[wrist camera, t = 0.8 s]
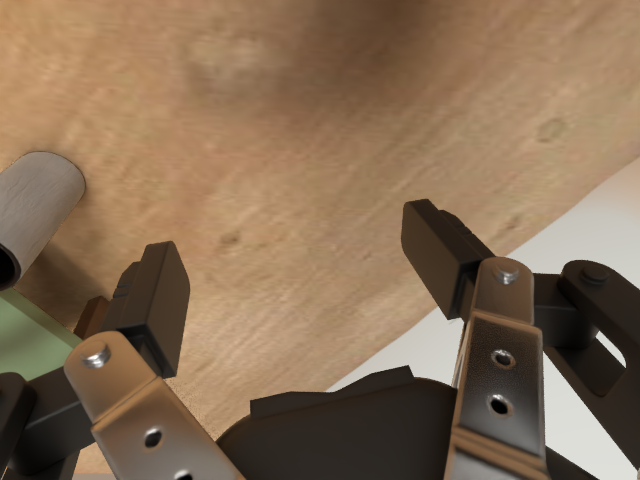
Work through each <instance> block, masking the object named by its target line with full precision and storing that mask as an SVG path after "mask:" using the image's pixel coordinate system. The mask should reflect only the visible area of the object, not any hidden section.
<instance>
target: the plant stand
mask: <svg viewBox="0 0 640 480" xmlns="http://www.w3.org/2000/svg"><path fill="white" fill-rule="evenodd" d="M108 306H109V302H108V301H107V300H106V299H105V298H104V297H103V296H99V297H97V298H94V299H92V300H89V301H88V303H87V305H86V307H85V309H84V311H83V313H82V315H81V317H80V319H79V321H78V323H77V326H76V328H75V330H74V332H73V333H72V332H71V331H70V330H68V329H67V328H66V327H64V326H63V325H62V324H60V323H59V322H58V321H56V320H55V319H54V318H52V317H51V316H50V315H48V314H47V313H45V312H44V311H43V310H41V309H40V308H39V307H37V306H36V305H35V304H33V303H32V302H31V301H29V300H28V299H27V298H25V297H24V296H23V295H21V294H20V293H19V292H17V291H16V290H15V289H13V288H12V287H11V288H9V289H7V290H4V291H0V373H5V372H16V373H19V374H20V375H21V376H22V377H23V378H24V379H25V380H27V381H30V380H32V379H34V378H36V377H39V376H41V375H43V374H46V373H48V372H50V371H53V370H55V369H57V368H59V367H62V366H64V363H65V361H66V358H67V357H68V355H69V354H70V353H71V351H72V350H73V349H74V348H75V347H76V346H77V345H78V344H80V343H81V342H82V341H84V340H85V339H87V338H89V337H91V336H93V335H95V334H97V331H98V329H99V327H100V324H101V322H102V320H103V317H104V315H105V313H106V310H107V308H108Z"/></svg>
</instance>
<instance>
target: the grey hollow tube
mask: <svg viewBox="0 0 640 480" xmlns="http://www.w3.org/2000/svg"><path fill="white" fill-rule="evenodd" d="M84 191H85V182H84V178H83V176H82V174H81V173H80V171H79V170H78V169H77V168H76V167H75V166H74V165H73V164H72V163H71V162H69V161H68V160H66V159H65V158H63V157H61V156H59V155H56V154H53V153H48V152H31V153H28V154H26V155H24V156H22V157H21V158H19V159H18V160H16V161H15V162H14V163H13V164H11V165H10V166H9V167H7V168H6V169H5V170H4V171H2V172H1V173H0V291H4V290H7V289H9V288H11V287H13V286H14V285H15V284H17V283H18V281H19V280H20V279H21V278H22V276H23V275H24V274H25V272H26V271H27V270H28V268H29V267H30V266H31V264H32V263H33V262H34V260H35V259H36V258H37V256H38V255H39V254H40V252H41V251H42V250H43V248H44V247H45V246H46V244H47V243H48V242H49V240H50V239H51V238H52V236H53V235H54V233H55V232H56V231H57V229H58V228H59V227H60V225H61V224H62V223H63V221H64V220H65V219H66V217H67V216H68V215H69V213H70V212H71V211H72V209H73V208H74V207H75V205H76V204H77V203H78V201H79V200H80V199H81V197H82V195H83V193H84Z"/></svg>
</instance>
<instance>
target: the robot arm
mask: <svg viewBox="0 0 640 480" xmlns="http://www.w3.org/2000/svg"><path fill="white" fill-rule="evenodd" d="M401 244H402V248H403V251H404V254H405V255H406V257H407V258H408V260H409V261H410V263H411V264H412V266H413V268H414V269H415V271H416V272H417V274H418V275H419V277H420V278H421V280H422V281H423V283H424V284H425V286H426V288H427V289H428V291H429V292H430V294H431V295H432V297H433V298H434V300H435V301H436V303H437V304H438V306H439V308H440V309H441V311H442V312H443V314H444V315H445V317H446V318H447V320H451V319H455V318H460V317H461V318H462V320H463V321H464V326H463V329H462V335H461V340H460V345H459V350H458V355H457V360H456V365H455V370H454V375H453V380H452V384H451V386H449V385H447V384H445V383H442V382H439V381H435V380H432V379H427V378H421V377H414V376H413V374H412V372H411V369H410V367H409V365H407V366H402V367H398V368H393V369H389V370H384V371H380V372H375V373H371V374H369V375H367V376H365V377H363V378H361V379H359V380H357V381H356V382H354V383H352V384H350V385H348V386H346V387H344V388H342V389H340V390H338V391H335V392H330V393H329V392H292V391H290V392H286V393H281V394H277V395H273V396H268V397H264V398H259V399H255V400H250V414H249V415H247V416H246V417H244V418H242V419H241V420H239V421H238V422H236V423H235V424H233V425H232V426H231V427H230V428H229V429H227V430H226V431H225V432H224V433H223V434H222V435H221V436H220V437H219V438H218V439H217V440H216V441H214V440H213V439H212V438H211V437H210V435H209V434H208V433H207V432H206V431H205V429H204V428H203V427H202V426H201V425H200V423H199V422H198V421H197V420H196V419H195V417H194V416H193V415H192V414H191V413H190V411H189V410H188V409H187V408H186V406H185V405H184V404H183V403H182V402H181V400H180V399H179V398H178V397H177V396H176V394H175V393H174V392H173V391H172V390H171V388H170V387H169V386H168V385H167V384H166V382H165V381H164V380H163V379H166V378H171V377H175V376H176V374H177V368H178V362H179V356H180V350H181V344H182V338H183V332H184V326H185V320H186V314H187V308H188V302H189V296H190V283H189V278H188V275H187V273H186V270H185V268H184V265H183V263H182V260H181V258H180V255H179V253H178V251H177V248H176V246H175V244H174V242H173V241H167V242H161V243H155V244H149V245H147V246H146V248H145V251H144V253H143V256H142V259H141V261H139V262H133V263H132V264H131V265H130V266H129V267H128V268H127V269H126V270H125V271H124V272H123V273H122V275H121V277H120V280H119V282H118V284H117V288H116V289H115V292H114V294H113V299H111V301H110V303H109V306H108V308H107V310H106V313H105V315H104V317H103V320H102V322H101V324H100V327H99V329H98V331H97V334H95V335H93V336H91V337H89V338H87V339H85V340H84V341H82V342H81V343H80V344H78V345H77V346H76V347H75V348H74V349H73V350H72V351H71V353H70V354H69V355H68V357H67V358H66V361H65V363H64V366H62V367H59V368H57V369H55V370H53V371H50V372H48V373H46V374H43V375H41V376H39V377H36V378H34V379H32V380H30V381H27V380H25V379H24V378H23V377H22V376H21V375H20V374H19V373H16V372H5V373H0V480H1V478H2V475H3V473H4V471H5V469H6V466H7V470H6V472H5V474H4V476H3V479H2V480H72V477H73V473H74V470H75V467H76V463H77V460H78V456H79V453H80V450H81V449H83V448H85V447H87V446H89V445H91V444H93V443H94V442H97V444H98V446H99V448H100V450H101V451H102V453H103V455H104V457H105V459H106V461H107V463H108V464H109V466H110V468H111V470H112V472H113V474H114V475H115V477H116V479H117V480H599V479H597V478H596V477H594V476H593V475H591V474H590V473H588V472H587V471H585V470H583V469H582V468H580V467H579V466H577V465H576V464H574V463H572V462H571V461H569V460H568V459H566V458H565V457H563V456H562V455H560V454H558V453H557V452H555V451H554V450H552V449H551V448H549V447H547V446H546V445H545V415H544V381H543V379H544V377H543V351H544V353H545V354H546V355H547V356H548V358H549V359H550V360H551V361H552V363H553V364H554V365H555V367H556V368H557V369H558V370H559V372H560V373H561V374H562V376H563V377H564V378H565V379H566V380H567V382H568V383H569V384H570V386H571V387H572V388H573V390H574V391H575V392H576V393H577V395H578V396H579V397H580V398H581V400H582V401H583V402H584V404H585V405H586V406H587V407H588V409H589V410H590V411H591V412H592V414H593V415H594V416H595V417H596V419H597V420H598V421H599V423H600V424H601V425H602V426H603V428H604V429H605V430H606V432H607V433H608V434H609V435H610V437H611V438H612V439H613V441H614V442H615V443H616V444H617V446H618V447H619V448H620V449H621V450H622V452H623V453H624V455H625V456H626V457H627V458H628V460H629V461H630V462H631V463H632V465H633V466H634V467H635V468H636V470H637V471H638V474H637V480H640V290H639V289H638V288H637V287H635V286H634V285H633V284H632V283H630V282H629V281H628V280H626V279H625V278H624V277H623V276H621V275H620V274H619V273H617V272H616V271H615V270H613V269H611V268H610V267H607V266H605V265H603V264H600V263H597V262H593V261H588V260H574V261H570V262H568V263H567V264H565V266H564V268H563V270H562V272H561V274H540V273H532V272H531V270H530V269H529V268H528V267H527V266H525V265H524V264H522V263H520V262H518V261H516V260H513V259H510V258H506V257H496V256H495V255H494V254H493V253H492V252H491V251H490V250H489V249H488V248H487V247H486V246H485V245H484V244H483V243H482V242H481V241H480V240H479V239H478V238H477V237H476V236H475V235H474V234H472V232H471V231H470V230H469V229H468V228H467V227H465V225H464V224H463V223H462V222H461V221H460V220H459V219H458V218H457V217H456V216H455V215H453V214H451V213H449V212H447V211H445V210H438V209H437V208H436V207H435V206H434V205H433V204H432V203H431V202H430V201H429V200H428V199H421V200H415V201H409V202H406V203H405V204H404V208H403V220H402V232H401ZM599 330H600V331H601V332H602V333H603V334H604V335H605V336H606V337H607V338H608V339H609V340H610V341H611V342H612V343H613V344H614V345H615V346H616V347H617V348H618V349H619V351H620V352H621V353H622V355H623V357H624V358H625V362H626V368H625V367H624V366H623V365H622V364H621V363H620V362H619V361H618V360H617V359H616V358H615V357H614V356H613V355H612V354H611V353H610V352H609V351H608V350H607V349H606V348H605V346H604V345H603V344H602V343H601V342H600V341H599V340H598V339H597V338H596V335H597V333H598V332H599Z"/></svg>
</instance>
